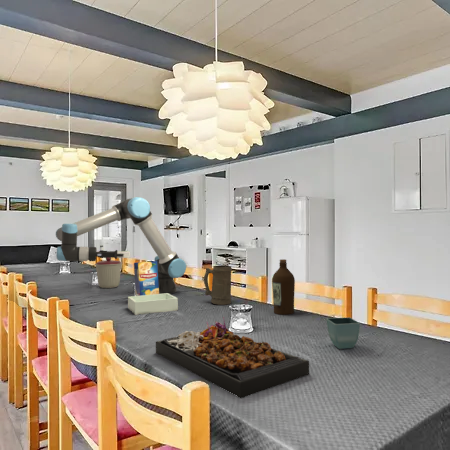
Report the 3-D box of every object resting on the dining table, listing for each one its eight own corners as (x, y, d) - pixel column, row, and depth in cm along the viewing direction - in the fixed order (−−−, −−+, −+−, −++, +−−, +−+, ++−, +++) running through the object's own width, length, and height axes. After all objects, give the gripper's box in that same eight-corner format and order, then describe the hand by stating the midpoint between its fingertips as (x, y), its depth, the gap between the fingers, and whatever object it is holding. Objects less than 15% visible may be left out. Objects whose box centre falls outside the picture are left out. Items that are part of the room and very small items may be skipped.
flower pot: (326, 343, 143) (325, 318, 143) (350, 342, 143) (350, 317, 143) (335, 351, 134) (334, 324, 134) (361, 350, 135) (360, 323, 135)
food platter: (155, 354, 136) (155, 323, 136) (216, 341, 150) (215, 313, 150) (240, 400, 99) (239, 358, 99) (309, 376, 114) (308, 339, 114)
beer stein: (233, 301, 222) (232, 264, 222) (231, 305, 211) (230, 266, 211) (205, 301, 224) (204, 264, 224) (202, 305, 213) (201, 267, 213)
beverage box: (159, 301, 222) (157, 261, 224) (140, 304, 216) (138, 262, 218) (154, 300, 228) (152, 261, 230) (135, 303, 222) (133, 262, 224)
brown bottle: (287, 309, 199) (286, 258, 199) (299, 313, 190) (298, 259, 190) (268, 311, 195) (267, 259, 195) (280, 316, 185) (279, 261, 185)
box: (168, 304, 217) (167, 293, 217) (177, 310, 202) (177, 298, 201) (128, 308, 208) (127, 296, 208) (135, 315, 193) (135, 302, 193)
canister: (118, 289, 272) (117, 257, 271) (91, 289, 272) (90, 258, 272) (125, 285, 290) (124, 255, 289) (100, 285, 290) (99, 255, 290)
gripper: (89, 259, 227) (129, 259, 232) (86, 262, 203) (130, 263, 208) (90, 246, 227) (129, 246, 232) (86, 247, 203) (130, 248, 208)
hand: (129, 254), depth 220 cm, fingers open, 13 cm apart
